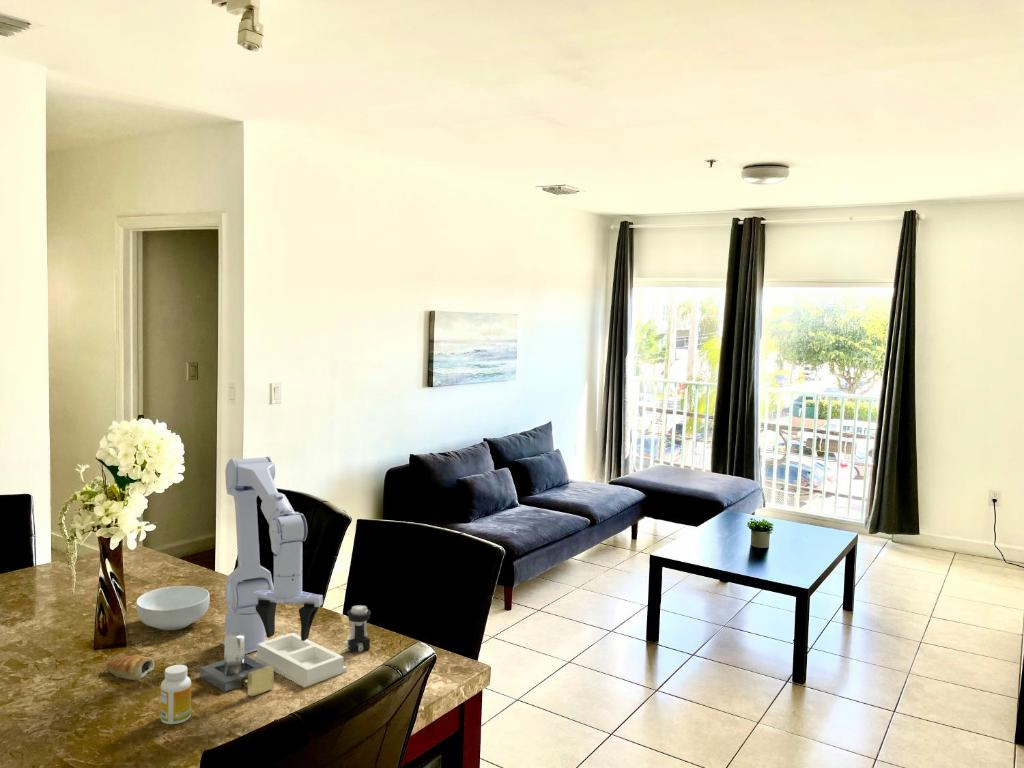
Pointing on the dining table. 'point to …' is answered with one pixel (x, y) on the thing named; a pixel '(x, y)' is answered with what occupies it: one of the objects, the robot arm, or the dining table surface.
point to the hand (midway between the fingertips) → (287, 637)
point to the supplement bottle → (175, 695)
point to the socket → (222, 681)
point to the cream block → (259, 680)
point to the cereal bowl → (172, 606)
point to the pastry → (131, 667)
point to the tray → (300, 659)
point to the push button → (358, 629)
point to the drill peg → (234, 653)
